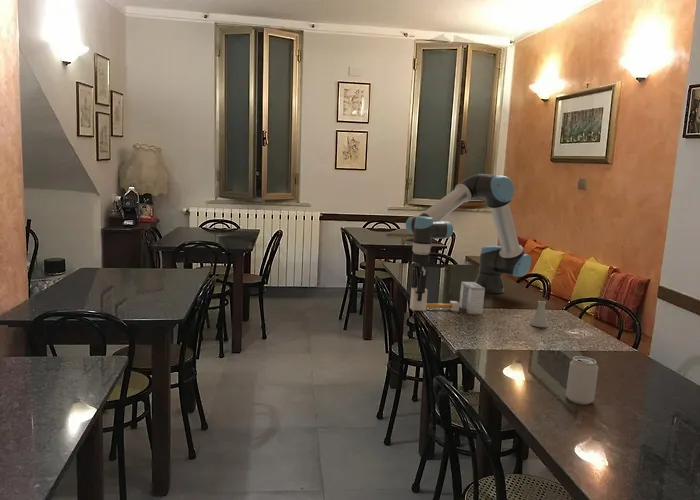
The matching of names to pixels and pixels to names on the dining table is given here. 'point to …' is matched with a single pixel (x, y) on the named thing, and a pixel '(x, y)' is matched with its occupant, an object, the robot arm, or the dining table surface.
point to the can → (582, 380)
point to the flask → (540, 316)
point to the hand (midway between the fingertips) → (416, 306)
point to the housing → (472, 297)
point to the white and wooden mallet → (452, 306)
